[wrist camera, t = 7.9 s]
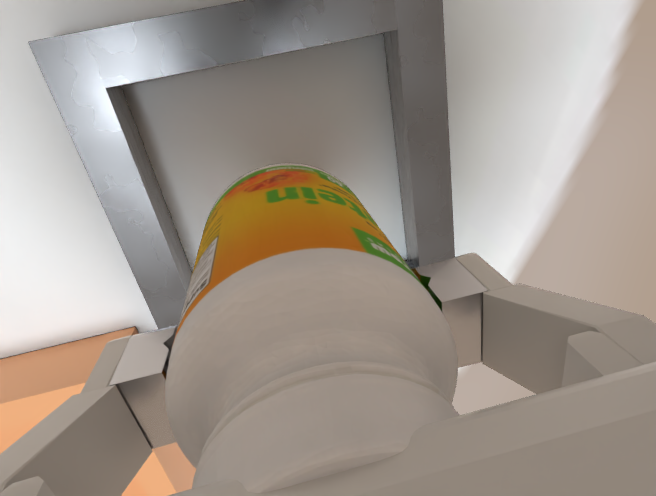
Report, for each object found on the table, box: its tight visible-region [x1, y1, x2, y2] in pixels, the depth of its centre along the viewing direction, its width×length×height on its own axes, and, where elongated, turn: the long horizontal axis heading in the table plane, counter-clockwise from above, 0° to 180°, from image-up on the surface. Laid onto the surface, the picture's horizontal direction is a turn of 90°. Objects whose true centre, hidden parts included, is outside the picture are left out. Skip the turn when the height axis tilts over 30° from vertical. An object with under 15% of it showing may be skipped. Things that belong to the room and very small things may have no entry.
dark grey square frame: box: [28, 0, 455, 329], centre depth 20 cm, size 16×16×2 cm
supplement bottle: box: [165, 163, 459, 493], centre depth 9 cm, size 5×5×10 cm
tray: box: [0, 327, 196, 496], centre depth 24 cm, size 16×16×4 cm
